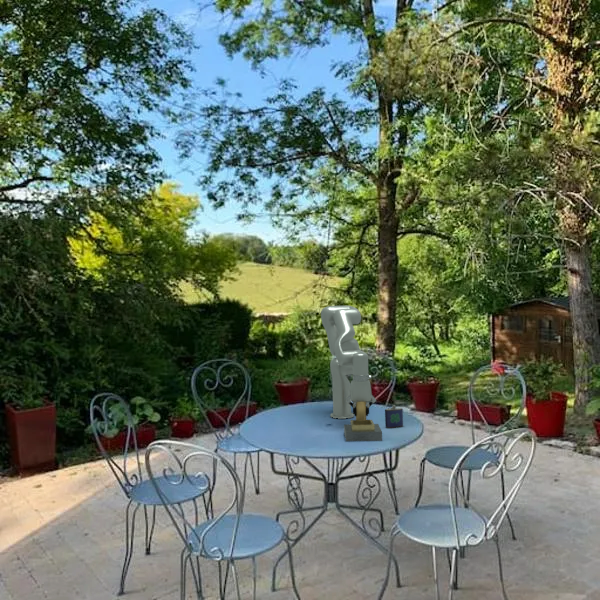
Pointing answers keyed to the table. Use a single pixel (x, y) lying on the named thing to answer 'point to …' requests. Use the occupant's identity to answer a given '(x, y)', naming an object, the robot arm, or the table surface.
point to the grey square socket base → (362, 431)
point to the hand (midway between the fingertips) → (361, 415)
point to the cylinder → (360, 410)
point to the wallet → (393, 417)
